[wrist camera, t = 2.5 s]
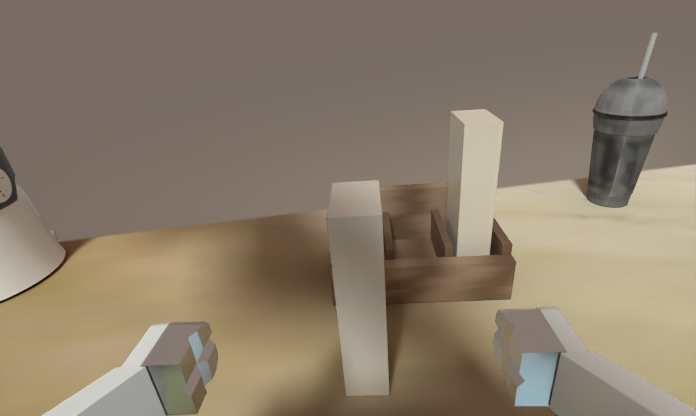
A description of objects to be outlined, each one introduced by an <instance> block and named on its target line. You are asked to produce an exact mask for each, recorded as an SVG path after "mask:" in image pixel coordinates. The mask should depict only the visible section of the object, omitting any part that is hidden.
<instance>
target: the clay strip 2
mask: <svg viewBox="0 0 696 416" xmlns="http://www.w3.org/2000/svg"><path fill="white" fill-rule="evenodd" d="M502 132H503V121H501V120H500V119H499V118H497V117H496V116H494V115H493V114H491V113H490V112H488V111H487V110H485V109H479V110H464V111H451V127H450V149H449V171H448V193H447V216H446V230H447V233H448V235H449V237H450V240H451V242H452V245H453V247H454V248H453V257H460V256H484V255H490V246H491V236H492V227H493V217H494V208H495V198H496V189H497V179H498V169H499V160H500V151H501V141H502Z"/></svg>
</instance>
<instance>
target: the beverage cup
mask: <svg viewBox="0 0 696 416" xmlns="http://www.w3.org/2000/svg"><path fill="white" fill-rule="evenodd" d="M657 34H658V33H652V35H651V39H650V42H649V45H648V48H647V51H646V54H645V57H644V60H643V64H642V67H641V70H640V73H639V76H629V77H625V78H622V79H619V80H617V81H615V82H614V83H612V84H611V85H610V86H609V87H608V88H606V89H605V90H604V91H603V93H602V94H601V95H600V97H599V98H598V100H597V103H596V106H595V108H594V109H593V113H594V117H593V127H594V135H593V144H592V153H591V162H590V172H589V180H588V196H587V198H588V200H589V201H590V202H592V203H594V204H597V205H600V206H605V207H623V206H626V205H627V204H628V200H629V198H630V196H631V194H632V193H633V190H634V188H635V185H636V182H637V180H638V177H639V175H640V172H641V170H642V167H643V164H644V162H645V159H646V157H647V154H648V152H649V149H650V147H651V144H652V141H653V139H654V136H655V134H656V133H657V132H658V130H659V128H660V127H661V125H662V123H663V120H664V117H666V116H667V106H668V100H667V94H666V92H665V90H664V88H663V87H662V86H661V85H660V84H659V83H658V82H657V81H655V80H654V79H652V78H649V77H645V76H644V74H645V71H646V68H647V65H648V62H649V58H650V55H651V52H652V49H653V46H654V43H655V39H656V37H657Z"/></svg>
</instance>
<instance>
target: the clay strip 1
mask: <svg viewBox="0 0 696 416" xmlns="http://www.w3.org/2000/svg"><path fill="white" fill-rule="evenodd" d="M326 220H327V229H328V237H329V246H330V255H331V264H332V273H333V282H334V291H335V300H336V309H337V318H338V327H339V336H340V345H341V354H342V363H343V372H344V381H345V390H346V396H376V395H389V372H388V347H387V321H386V296H385V270H384V245H383V220H382V208H381V198H380V189H379V181H378V180H377V181H359V182H342V183H333V184H332V190H331V196H330V201H329V206H328V212H327V217H326Z"/></svg>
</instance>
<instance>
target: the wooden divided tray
mask: <svg viewBox="0 0 696 416" xmlns="http://www.w3.org/2000/svg"><path fill="white" fill-rule="evenodd" d="M379 189H380V198H381V208H382V220H383V245H384V270H385V296H386V304H393V303H420V302H448V301H475V300H503V299H511V294H512V287H513V280H514V273H515V266H516V261H515V260H514V258H513V257H512V255H511V251H512V243H511V242H510V240H509V239H508V237H507V236H506V235H505V233H504V232H503V230H502V229H501V227H500V226H499V224H498V223H497V221H496V220H495V219H494V217H493V227H492V236H491V246H490V255H484V256H460V257H453V248H454V247H453V245H452V242H451V240H450V237H449V235H448V233H447V230H446V216H447V193H448V182H447V183H429V184H411V185H393V186H379ZM330 260H331V255H330ZM330 277H331V286H332V294H333V303H334V306H336V300H335V291H334V282H333V273H332V264H330Z"/></svg>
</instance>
